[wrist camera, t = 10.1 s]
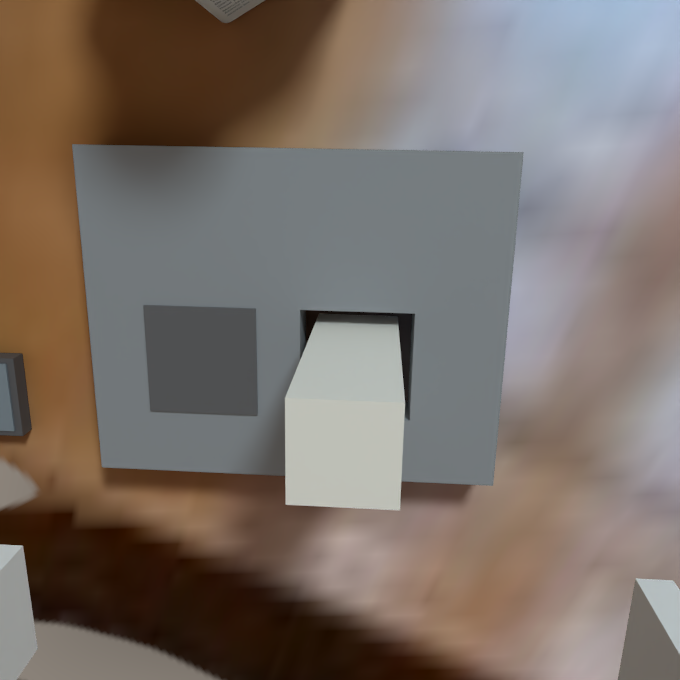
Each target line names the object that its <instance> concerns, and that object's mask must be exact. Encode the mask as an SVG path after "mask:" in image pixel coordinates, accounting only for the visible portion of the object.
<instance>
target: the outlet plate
mask: <svg viewBox="0 0 680 680" xmlns="http://www.w3.org/2000/svg"><path fill="white" fill-rule="evenodd" d="M72 148H73V159H74V170H75V180H76V191H77V202H78V213H79V224H80V234H81V245H82V256H83V267H84V278H85V288H86V299H87V310H88V321H89V332H90V343H91V353H92V364H93V375H94V386H95V397H96V407H97V418H98V429H99V440H100V451H101V461H102V467H107V468H128V469H149V470H170V471H192V472H213V473H234V474H256V475H277V476H285V397H286V394H287V392H288V389H289V387H290V384H291V382H292V379H293V377H294V374H295V372H296V369H297V367H298V364H299V362H300V359H301V357H302V355H303V352H304V350H305V347H306V310H318V311H349V312H380V313H411V314H412V329H411V349H410V369H409V389H408V402H405V415H404V436H403V457H402V478H401V481H405V482H426V483H447V484H468V485H490V486H493V480H494V469H495V458H496V447H497V436H498V425H499V414H500V403H501V392H502V382H503V371H504V360H505V349H506V338H507V327H508V316H509V305H510V294H511V284H512V273H513V262H514V251H515V240H516V229H517V218H518V207H519V196H520V185H521V175H522V164H523V153H524V152H472V151H415V150H359V149H303V148H247V147H190V146H134V145H78V144H72Z"/></svg>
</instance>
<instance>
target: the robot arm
mask: <svg viewBox="0 0 680 680" xmlns="http://www.w3.org/2000/svg"><path fill="white" fill-rule="evenodd" d="M37 649H38V648H37V641H36V634H35V627H34V620H33V613H32V606H31V599H30V592H29V585H28V578H27V571H26V564H25V557H24V550H23V546H18V545H0V680H17V678H18V677H19V675H20V674H21V672H22V671H23V670H24V668H25V667H26V665H27V664H28V662H29V661H30V659H31V658H32V656H33V655H34V654H35V652H36V651H37ZM618 680H680V590H679V588H678V587H677V585H676V584H675V582H674V581H671V580H653V579H635V584H634V590H633V596H632V602H631V607H630V613H629V619H628V625H627V630H626V636H625V642H624V648H623V653H622V659H621V665H620V671H619V676H618Z"/></svg>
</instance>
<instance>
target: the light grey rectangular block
mask: <svg viewBox="0 0 680 680" xmlns="http://www.w3.org/2000/svg"><path fill="white" fill-rule="evenodd" d="M404 415H405V396H404V384H403V373H402V361H401V350H400V338H399V327H398V316H382V315H351V314H320V313H319V315H318V317H317V320H316V322H315V325H314V327H313V330H312V332H311V335H310V337H309V340H308V342H307V345H306V347H305V350H304V352H303V355H302V357H301V359H300V362H299V364H298V367H297V369H296V372H295V374H294V377H293V379H292V382H291V384H290V387H289V389H288V392H287V394H286V397H285V488H286V505H301V506H322V507H342V508H362V509H383V510H400V498H401V478H402V457H403V436H404Z"/></svg>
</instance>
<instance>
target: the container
mask: <svg viewBox="0 0 680 680" xmlns="http://www.w3.org/2000/svg"><path fill="white" fill-rule="evenodd" d="M195 1H196V2H198V3H199V4H200V5H201V6H203V7H204V8H205V9H206V10H208V11H209V12H210V13H211V14H213V15H214V16H215V17H216V18H217V19H219V20H220V21H221V22H224V23H229V22H231V21H233V20H235V19H236V18H238V17H239V16H241V15H243V14H244V13H246V12H247V11H249V10H251V9H252V8H254V7H255V6H257V5H259V4H260V3H262V2H263V1H265V0H195Z"/></svg>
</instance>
